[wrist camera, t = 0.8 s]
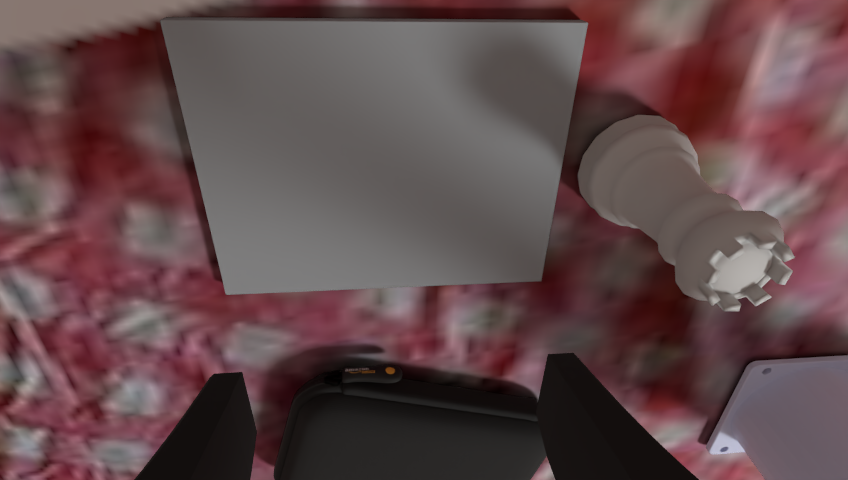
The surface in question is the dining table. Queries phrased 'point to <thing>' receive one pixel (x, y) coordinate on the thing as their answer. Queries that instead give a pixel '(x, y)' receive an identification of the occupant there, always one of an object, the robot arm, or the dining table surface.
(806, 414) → the robot arm
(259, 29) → the slate mat
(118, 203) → the dining table surface
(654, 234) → the rook chess piece
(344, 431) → the carrying case or bag
